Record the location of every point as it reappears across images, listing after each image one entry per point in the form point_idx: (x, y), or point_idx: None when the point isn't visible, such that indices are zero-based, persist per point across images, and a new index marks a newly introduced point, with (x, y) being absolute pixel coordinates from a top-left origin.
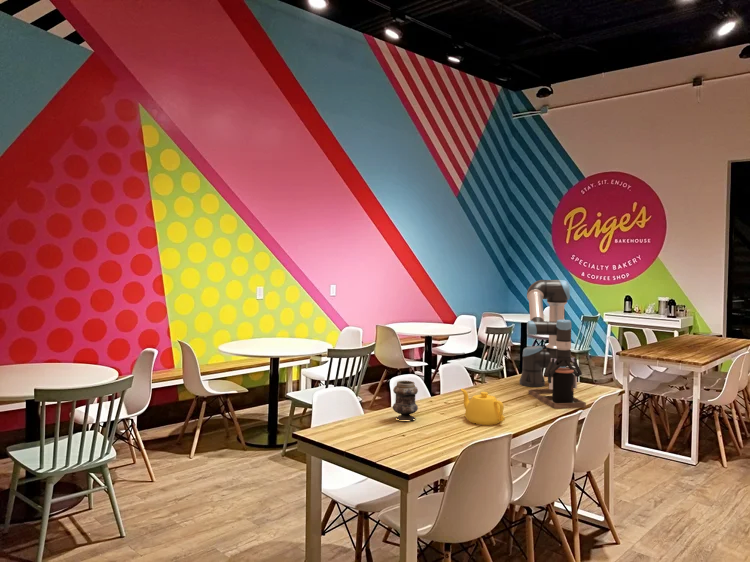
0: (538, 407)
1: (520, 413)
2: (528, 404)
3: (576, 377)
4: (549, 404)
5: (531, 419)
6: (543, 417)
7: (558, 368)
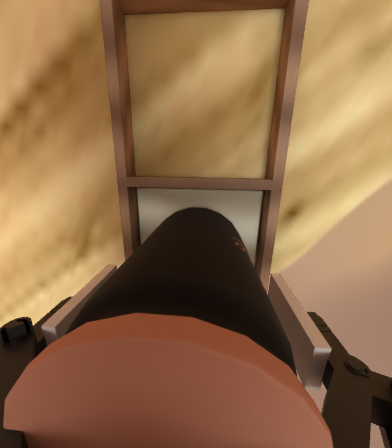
0: (84, 272)
1: None
2: (58, 226)
3: (309, 380)
4: None
5: None
6: None
7: (115, 397)
